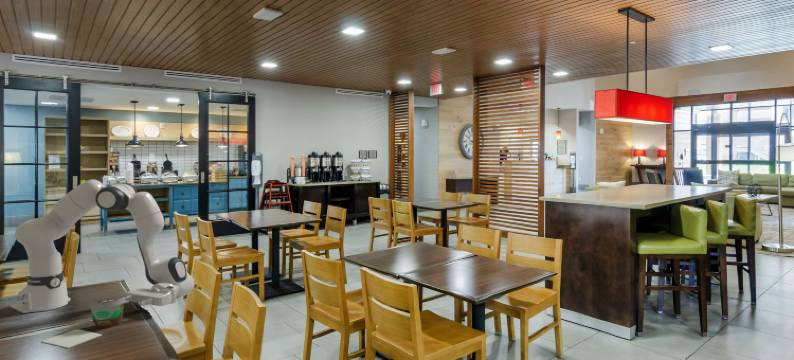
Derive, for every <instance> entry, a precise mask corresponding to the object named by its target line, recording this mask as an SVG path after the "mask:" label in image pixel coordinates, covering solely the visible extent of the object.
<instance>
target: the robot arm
mask: <svg viewBox="0 0 794 360" xmlns="http://www.w3.org/2000/svg"><path fill="white" fill-rule="evenodd" d="M96 206H97V207H99V209H101V210H103V211H107V212H116V211H120V212H121V211H124V210H127V211H128V212H129V213H130V214H131V216H132V219H133V220H134V224H135V225H136V227H135V228H136V230H137V236H136V241H137V244H138V249H139V251H140V256H141V258H142V261H143V266H144V271H145V272H144V274H145V278H146V280H147V281H148V282H149V283H150V284H152V286H151V289H150V288H149V289H148V288H137V289H133V290H129V291H127V292H126V293H125V295H126V297H124V298H125V300H126V302H125V303H124V304H129V303H130V302H133V303H138V305H139V306H140V307H145V306H151V305H152V306H157V307H163V306H167V305H170V304H176V301H177V299H180V298H181V297H184V296H186V295H189V294H190V293H191V292H192V291H193V290H194V288H195V285H196V284H195V282H196V281H195V279H194V277H193V276H192V275H190V274H189V273H188V271H187V267H186V264H185V262H184V261H183V260H182V259H181V258H179V257H176V256H175V257H170V258H167V259H164V260H160V259H159V257H158V252H157V250H156V246H155V241H156V238H157V236H158V235H160V233H161V232H162V231H163V229H164V226H165V217H164V216H163V213H162V211H161V209H160V207H159V205H158V203H157V201H156V199H154V197H153V195H152V194H151V193H149V192H148V191H138V190H137V189H136V187H135V186H134V185H132V184H130V183H125V182H121V183H114V184H111V185H108V186H106V185H104V183H102V182H101V181H99V180H97V179H88V180H86V181H84V182H82V183H81V184H79V185H77V186H75V187H74V188H73V189H71V190H70V191H69V192H68V193H66V194H65V195H63V197H61V198H60V199H59V200H58V201H56V202H55V203H54V206H53V207H52V209H51V210H50V211H49V212H48V213H46V214H45V215H43V216H41V217H38V218H32V219H29V220H26V221H24V222H23V223H21V224H19V225H18V226H17V227H16V229H15V230H14V231H15V232H14V233H15V234H14V236H15V239H16V241H17V242H18V243H19V244H21V245H22V246H23V247H24V249H25V251H26V254H27V258H28V265H29V267H28V269H29V275H28V276H27V277H26V280H27V282H26V285H25V286H24V287H23V288H22V289H21V290H20V291H19V292H18V293H17V296H16V302H14V303H12V304H10V308H11V309H14V310H16V311H18V312H20V313H22V314H27V313H33V312H44V311H51V310H55V309H58V308H62V307H64V306H66V305H68V303H69V302H70V301H71V297H69V296H68V288H67V283H66V282H64V272H63V269H62V268H63V266H62V255H61V253H60V252H59V251H58V250H57V249H56V246H55V243H54V241H56V240H59V239H61V238H62V237H64V236H65V235H67V234H68V233H69V231H70V230H71V229H72V227H73V226H74V225H75V224H76V223H77V222H78V221H79V220H81V218H83V217H84V216H86V214H88V213H89V212H90V211H92V209H94V208H96Z"/></svg>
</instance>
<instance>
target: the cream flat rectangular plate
mask: <svg viewBox="0 0 794 360" xmlns="http://www.w3.org/2000/svg"><path fill="white" fill-rule="evenodd" d="M102 336H103V334H102V333H101V334H100V333H97V332H93V331H92V332H91V331H87V330H83V329H79V328H76V329H73V330H70V331H67V332H65V333H61V334H59V335H56V336H52V337H49V338H47V339H44V340H41V343H45V344H49V345H53V346H57V347H61V348H66V349H70V348H74V347H76V346H78V345H80V344H83V343H87V342H88V341H91V340H94V339H98V338H99V337H102Z"/></svg>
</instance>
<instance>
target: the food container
mask: <svg viewBox="0 0 794 360" xmlns="http://www.w3.org/2000/svg"><path fill="white" fill-rule="evenodd" d="M125 298H126V297H125V296H123V297H121V298H119V299H105V300H100V301H91V300H89V302H88V308H89V309H90V310H91V311H90V312H91V315H92V316H91V317H92V323H93V328H96V329H107V328H113V327H116V326H119V325H120V324H122V323H123V318H124V317H123V316H124V315H123V314H124V305H125V304H126V303H125V302H126V300H125Z"/></svg>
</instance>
